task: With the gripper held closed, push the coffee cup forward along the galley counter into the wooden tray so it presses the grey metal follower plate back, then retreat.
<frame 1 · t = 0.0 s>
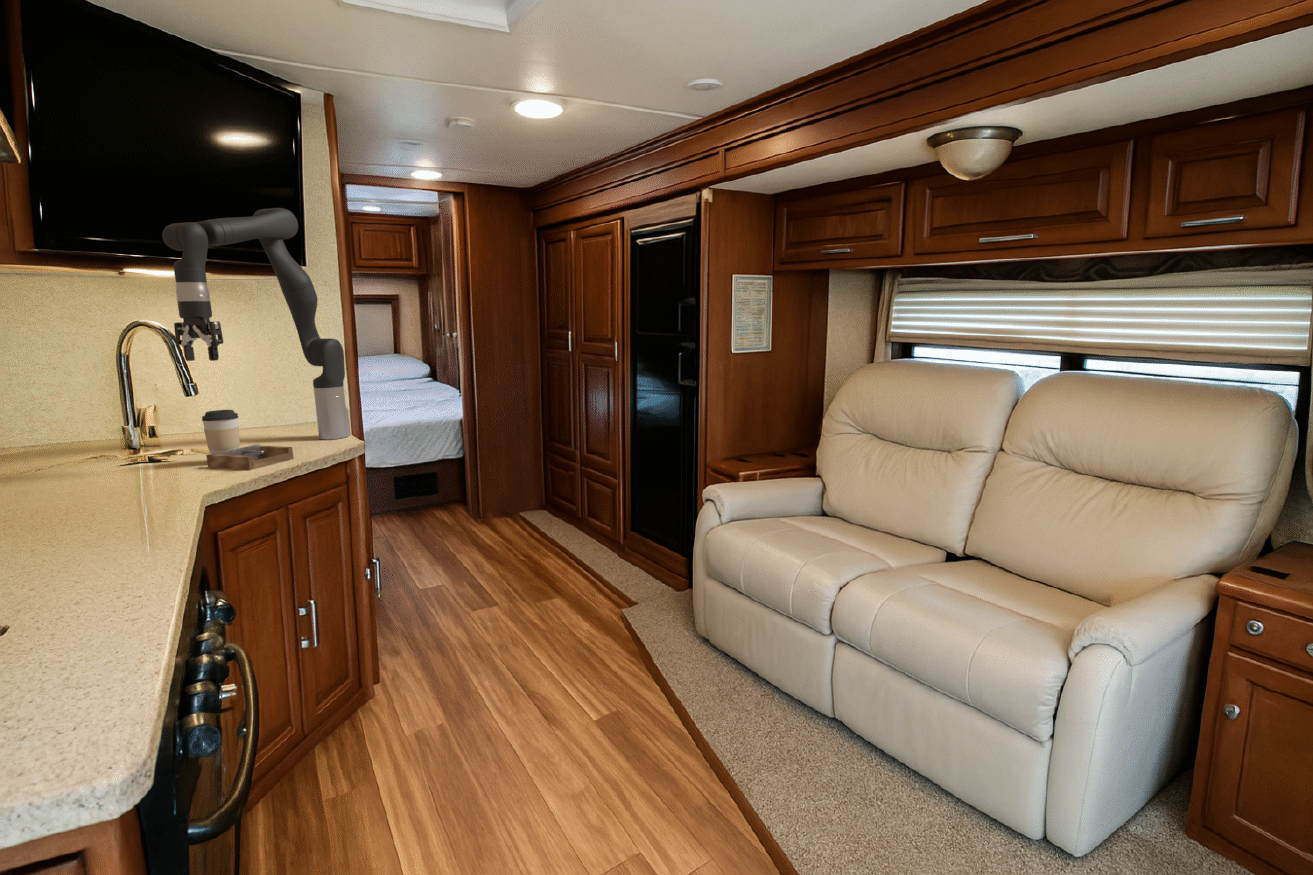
hand: (202, 360, 193), 29 cm above the countertop, fingers open, 8 cm apart
wooden tray: (251, 463, 201), on the countertop
coffee cup: (226, 462, 204), on the countertop
pusher: (252, 455, 200), point 2 cm above the countertop, slide at 0.0 cm
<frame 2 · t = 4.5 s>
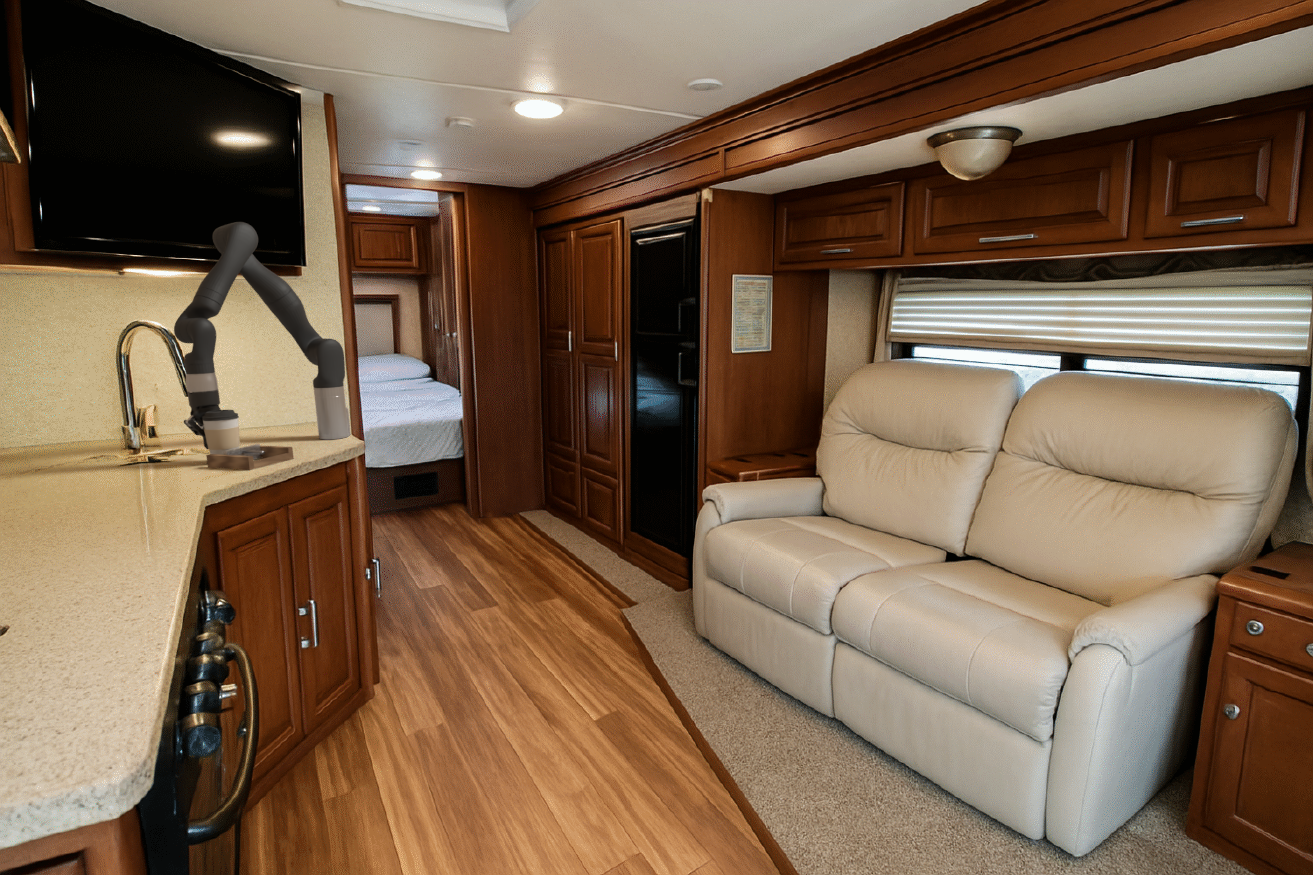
hand: (210, 448, 205), 3 cm above the countertop, fingers closed
coffee cup: (226, 462, 204), on the countertop, touching gripper
everything else where it was.
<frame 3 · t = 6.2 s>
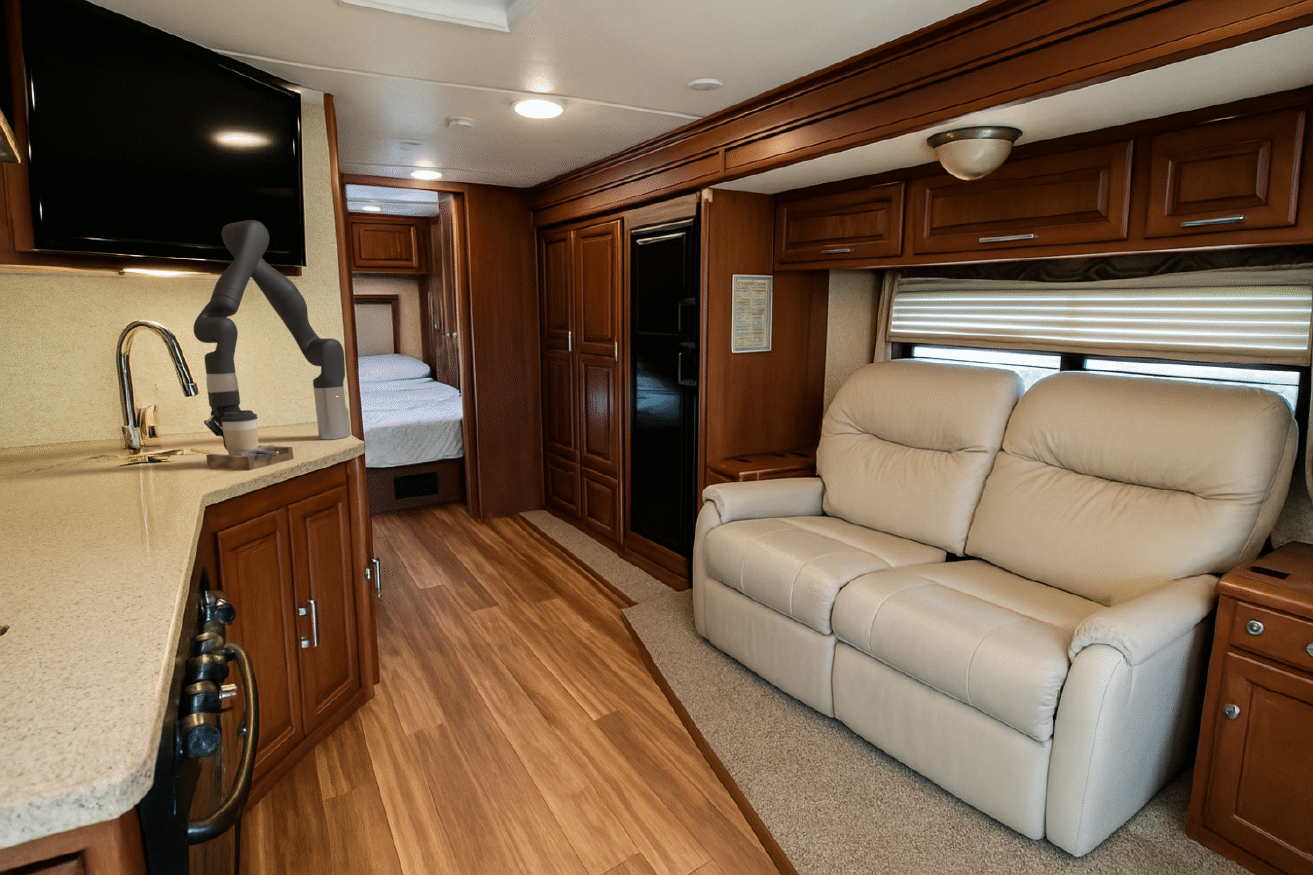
hand: (230, 449, 203), 4 cm above the countertop, fingers closed
coffee cup: (244, 463, 201), on the countertop, touching gripper, hand, pusher
pusher: (266, 455, 199), point 2 cm above the countertop, slide at 5.3 cm, touching coffee cup
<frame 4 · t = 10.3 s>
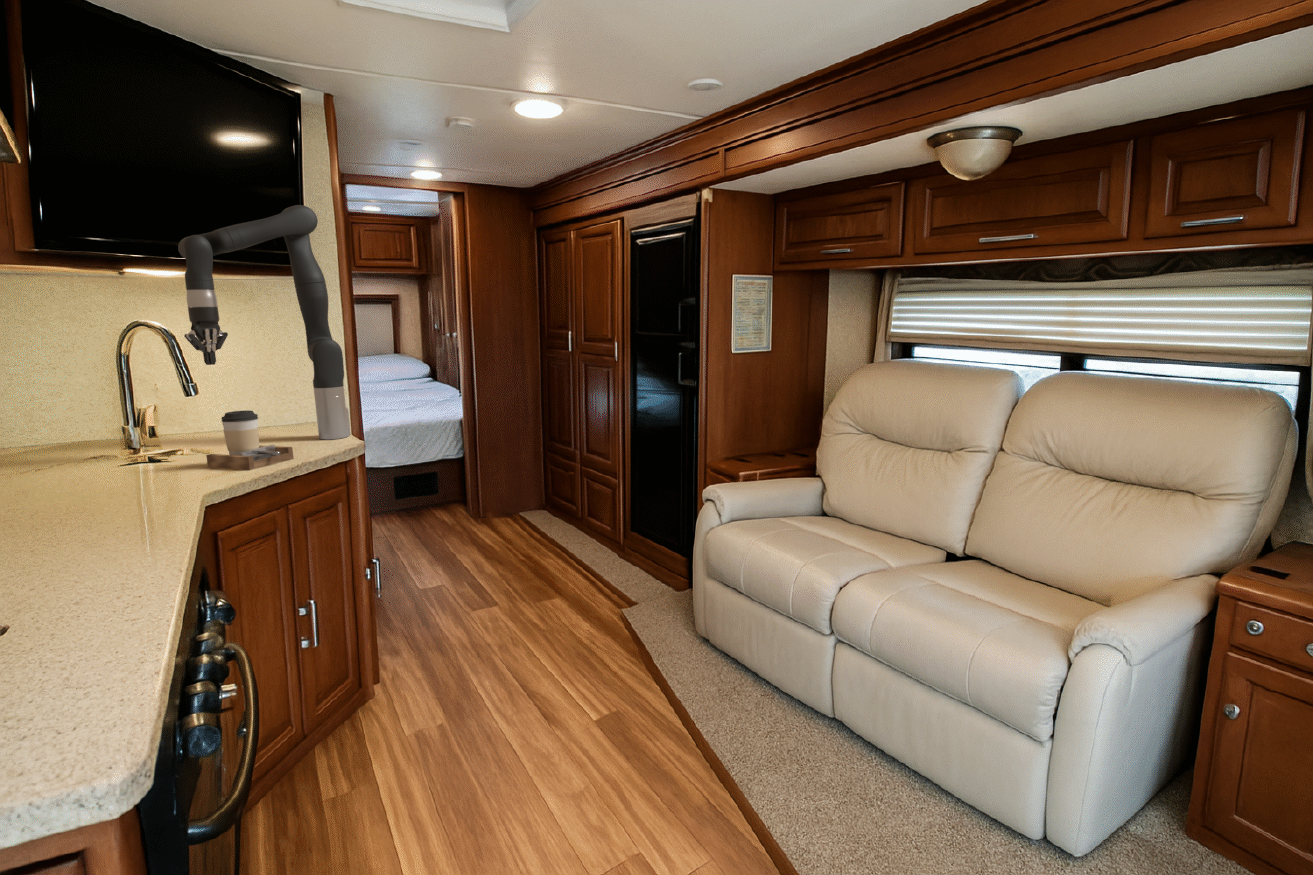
hand: (210, 364, 213), 27 cm above the countertop, fingers closed
coffee cup: (245, 463, 201), on the countertop
pusher: (267, 455, 199), point 2 cm above the countertop, slide at 5.6 cm
at the end: coffee cup inside the target area (1.5 cm from its centre), on the countertop; pusher slide at 5.6 cm; coffee cup tilted 0° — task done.
